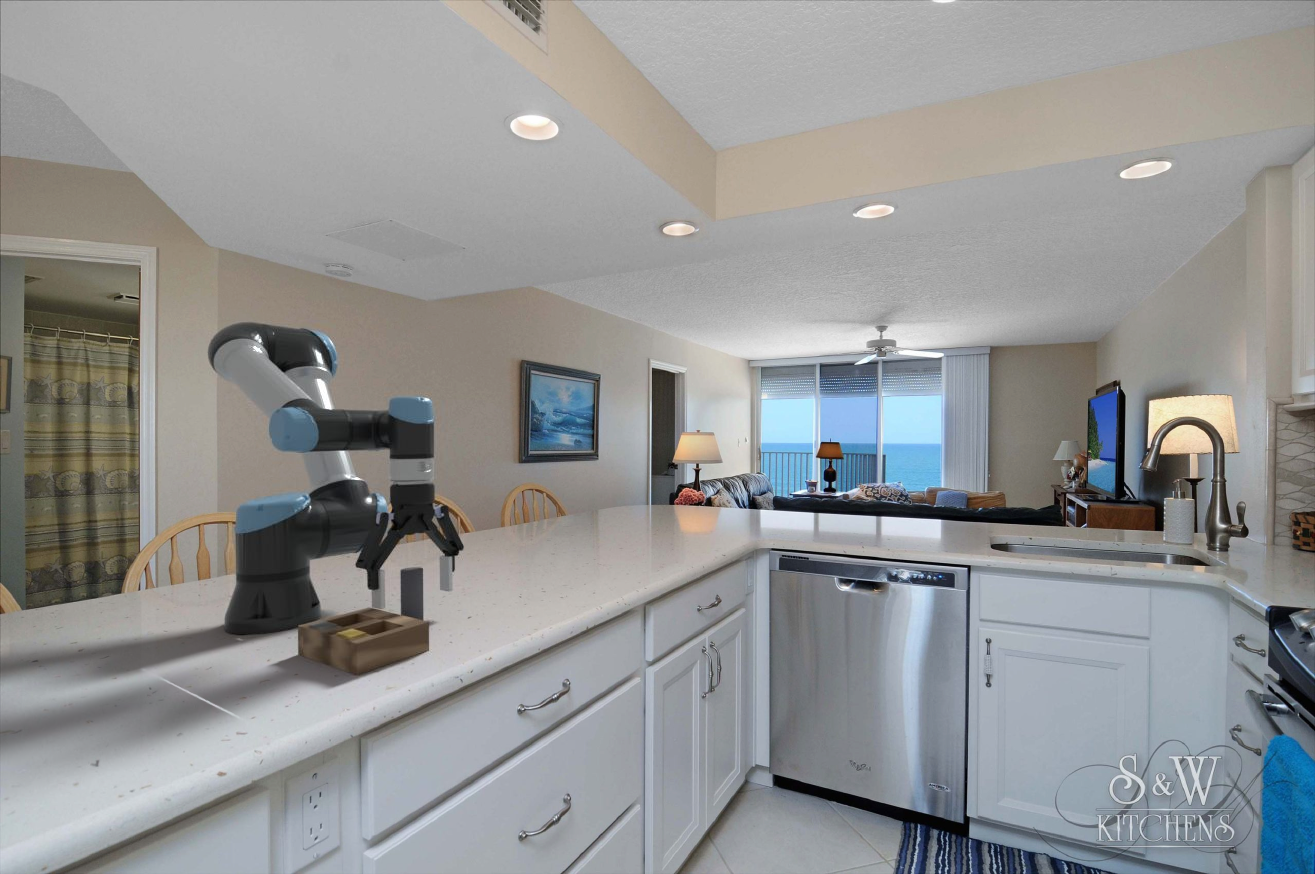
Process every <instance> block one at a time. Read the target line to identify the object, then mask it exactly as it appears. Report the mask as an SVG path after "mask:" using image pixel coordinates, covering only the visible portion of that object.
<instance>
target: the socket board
mask: <svg viewBox="0 0 1315 874" xmlns="http://www.w3.org/2000/svg"><path fill="white" fill-rule="evenodd" d="M423 620H424V619H423ZM423 620H419V619H415V618H411V617H407V616H403V615H401V614H398V613H395V612H390V611H386V610H383V609H377V608H373V607H366V608H361V609H358V610H354V611H351V612H347V613H343V614H338V615H335V616H330V617H326V618H323V619H319V620H318V619H317V620H316V621H314V622H311V623H307V624H303V625H299V626H298V627H297V652H298V653H297V654H298V655H299V656H302V657H304V658H308V659H311V660H312V661H316V662H319V663H321V664H325V665H327V666H329V667H332V668H336V669H338V670H341V671H345V672H348V673H349V674H353V675H356V676H360V675H362V674H365V673H368V672H370V671H373V670H376V669H379V668H383V667H385V666H388V665H391V664H394V663H396V662H400V661H402V660H406V659H408V658H411V657H413V656H416V655H419V654H422V653H424V652H428V651H430V622H429V620H428V621H427V620H424V621H423Z"/></svg>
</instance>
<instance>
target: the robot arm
mask: <svg viewBox="0 0 1315 874" xmlns="http://www.w3.org/2000/svg"><path fill="white" fill-rule="evenodd" d="M209 342H210V343H209V344H208V347H207V359H208V362H209V364H210V366H211V368H212V369H213V370H214V372H215V373H216V374H217V375H218V376H219V377H220V378H221V379H222V380H224V381H226V382H228V383H232V384H235V385H236V386H237V388H238V389H239V390H240V391H242V393H243V394H245V396H246V398H249V400H250V401H252V403H253V404H254V405H255V406H256V407H257V408H258V409H259V410H260V411H261V412H262V413H263V414H264V415H265V416H266V417H267V418H268V419H269V425H268V435H269V438H270V440H271V445H272V446H273V447H274V449H277V451H279V452H280V451H281V452H289V453H293V452H294V453H299V454H301V457H302V461H303V464H304V468H305V471H306V474H307V479H308V482H309V485H310V488H311V489H310V491H309V492H308V493H306V492H288V493H284V494H283V493H281V494H275V495H274V494H272V495H268V496H264V497H262V496H261V497H257V498H255V499H251V500H250V499H249V500H247V501H246V502H243V503H242V504H241V505H239V507H238V508H237V509H236V513H235V514H236V515H235V518H236V519H235V526H234V528H233V529H234V534H235V536H234V537H235V587H234V590H233V592H232V595H231V597H230V600H229V603H228V606H227V610H226V612H225V615H224V620H223V621H224V631H225V632H227V633H229V634H234V635H235V634H236V635H259V634H269V633H270V634H271V633H275V632H276V633H277V632H283V631H287V630H292V629H296V628H298V626H299V625H303V624H307V623H311V622H315V621H318V619H319V620H320V617H321V616H322V615H321V614H322V611H321V610H322V609H321V608H322V606H321V601H320V599H319V596H318V593H317V591H316V589H315V585H314V584H313V581H312V579H311V560H316V559H322V558H330V557H336V556H342V555H349V554H358V553H359V555H358V557H357V559H356V561H355V565H354V566H355V568H358V569H360V570H361V569H362V570H365V571H366V573H367V574H366V578H367V579H366V580H367V589H368V590H371V608H374V609H378V610H384V609H386V580H385V579H386V578H385V577H386V576H385V575H386V573H385V571H386V570H385V569H381V568H382V566H383V565H384V564H385V562H386V561H387V559H389V556H390V555H391V553H392V552H393V551H394V549H395V548H396V546H398V543H399V542H400V541H401V540H402V539H403V538H404V537H405V536H412V535H416V534H426V536H427V537H428V539H430V541H432V543H433V544H434V545H435V546H436V547H437V548H438V549H439V550H440V551H441V553H442V554H443V555H439V591H443V592H449V593H450V592H453V573H455V570H456V558H455V557H458V556H459V554H460V551H461V552H462V551H464V549H465V546H464V544H463V542H462V540H461V537H460V535H459V533H458V531H457V529H456V527H455V525H454V523H453V521H452V519H451V517H450V512H449V506H448V505H442V504H437V505H435V507H434V503H435V500H436V497H435V495H436V494H435V493H436V491H435V489H436V486H435V485H436V484H434V482H432V480H434V479H435V458H434V457H435V456H434V455H435V417H434V407H433V405H434V404H433V402H432V400H431V399H430V398H428V397H422V396H396V397H395V396H394V397H391V399H390V400H389V402H388V409H387V410H384V409H383V410H373V409H372V410H370V409H369V410H368V409H367V410H365V409H343V408H342V409H340V408H339V409H338V408H337V409H336V408H335V405H334V402H333V399H332V395H331V394H330V390H329V386H330V385H331V384H332V382H333V378H334V377H335V376H336V373H337V371H338V365H339V364H338V363H337V360H338V353H337V350H336V347H335V344H334V343H333V341H332V340H331V339H330V337H329V336H328V335H326V334H325V333H323V332H321V331H317V330H311V329H309V328H305V327H302V328H301V327H300V328H295V327H288V326H281V325H276V324H268V323H267V324H266V323H260V322H253V321H246V322H245V321H243V322H236V323H234V324H231V325H228V326H225V327H223V328H222V329H220V330H219V331H218V332H216V333H215V334H214V336H213V337H212V339H210V341H209ZM387 450H388V451H389V480H390V482H393V483H392V484H391V485H390V486H389V503H390V505H391V511H390V513H389V507H388V503H387V501H386V498H385V497H384V496H382V495H381V494H379V493H377V492H374V493H373V492H372V493H371V491H370V489H369V485H368V483H367V481H366V480H365V479H362V478H360V477H358V476H357V475H356V471H355V468H354V465H353V462H352V458H351V456H350V453H349V451H352V452H353V451H357V452H358V451H368V452H373V451H374V452H378V451H387ZM434 518H435V519H436V521H437V524H438V525H439V527H440V529H441V531H442V532H441V531H440V530H439V529H438V526H437V525H436V524H435V523H434V521H433V519H434ZM391 523H392V525H391V526H390V527H389V529H388V526H389V525H390V524H391ZM386 534H387V535H386Z"/></svg>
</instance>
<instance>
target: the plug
mask: <svg viewBox="0 0 1315 874" xmlns="http://www.w3.org/2000/svg"><path fill="white" fill-rule="evenodd" d="M399 572H400V615H403V616H407V617H411V618H415V619H419V620H423V621H425V620H424V568H423V567H419V566H411V567H405V568H402V569H400V571H399Z"/></svg>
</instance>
